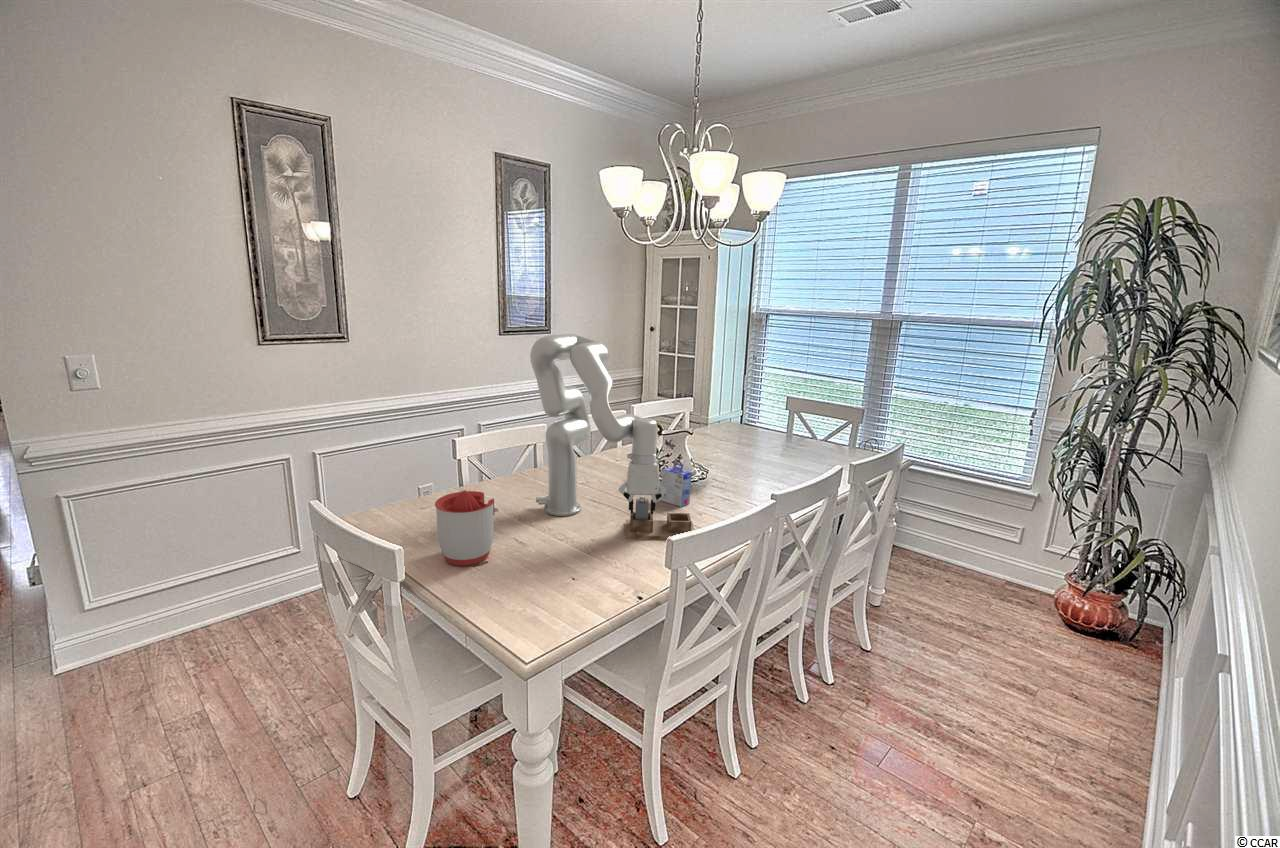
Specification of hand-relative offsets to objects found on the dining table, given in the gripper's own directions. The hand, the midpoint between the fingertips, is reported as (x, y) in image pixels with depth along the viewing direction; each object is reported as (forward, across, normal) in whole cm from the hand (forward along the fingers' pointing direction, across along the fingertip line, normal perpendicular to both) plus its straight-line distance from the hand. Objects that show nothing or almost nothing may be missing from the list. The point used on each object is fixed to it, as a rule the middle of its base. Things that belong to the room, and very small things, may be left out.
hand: (641, 511), depth 178 cm
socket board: (+7, +6, 0) cm, 9 cm away
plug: (+5, 0, 0) cm, 5 cm away
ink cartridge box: (+7, +13, +26) cm, 30 cm away
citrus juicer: (+7, -49, -20) cm, 53 cm away
